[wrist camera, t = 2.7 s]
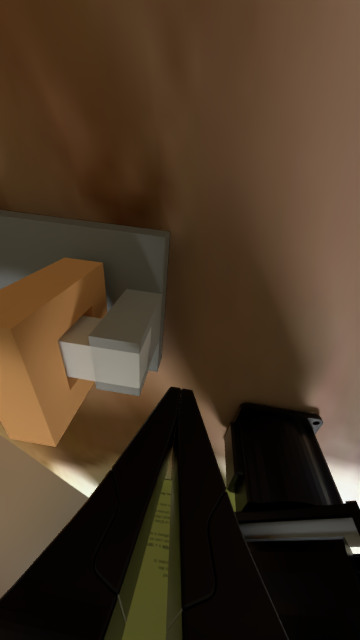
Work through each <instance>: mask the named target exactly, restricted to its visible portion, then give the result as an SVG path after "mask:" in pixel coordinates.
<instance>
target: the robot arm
mask: <svg viewBox="0 0 360 640" xmlns="http://www.w3.org/2000/svg"><path fill="white" fill-rule="evenodd" d="M179 401H180V402H179ZM178 408H179V409H178ZM177 415H178V416H177ZM322 424H323V421H322V419H321V417H320V416H319V415H315V414H309V413H303V412H296V411H290V410H284V409H278V408H272V407H266V406H260V405H254V404H248V403H244V404H241V405H240V407H239V409H238V412H237V415H236V417H235V420H234V422H231V423H230V425H229V428H228V431H227V433H226V436H225V439H224V440H225V460H226V480H227V489H228V491H229V492H231V493H235V507H236V512H234V510H233V507H232V504H231V501H230V498H229V495H228V493H227V492H225V491H226V487H225V484H224V481H223V478H222V475H221V472H220V469H219V467H218V464H217V461H216V458H215V455H214V452H213V449H212V446H211V443H210V440H209V437H208V434H207V431H206V428H205V425H204V423H203V420H202V417H201V414H200V411H199V408H198V405H197V402H196V399H195V396H194V393H193V391H192V390H189V389H182V390H181V389H180V388H177V387H170V388H169V389H168V391H167V392H166V394H165V395H164V396H163V398H162V399H161V400H160V402H159V403H158V405H157V406H156V407H155V409H154V410H153V412H152V413H151V414H150V416H149V417H148V418H147V420H146V421H145V423H144V424H143V425H142V427H141V428H140V429H139V431H138V432H137V434H136V435H135V436H134V438H133V439H132V441H131V442H130V443H129V445H128V446H127V447H126V449H125V450H124V452H123V453H122V454H121V456H120V457H119V458H118V460H117V461H116V463H115V464H114V465H113V467H112V470H110V471H109V472H108V473H107V475H106V476H105V478H104V479H103V480H102V482H101V483H100V484H99V486H98V487H97V488H96V490H95V491H94V492H93V493H92V495H91V496H90V497H89V499H88V500H87V501H86V502H85V504H84V505H83V506H82V507H81V508H80V510H79V511H78V512H77V513H76V515H75V516H74V517H73V518H72V519H71V520H70V522H69V523H68V524H67V525H66V526H65V527H64V528H63V529H62V531H61V532H60V533H59V534H58V535H57V536H56V538H55V539H54V540H53V541H52V542H51V543H50V544H49V545H48V547H47V548H46V549H45V550H44V551H43V552H42V553H41V554H40V556H39V557H38V558H37V559H36V560H35V561H34V562H33V564H32V565H31V566H30V567H29V568H28V569H27V570H26V571H25V573H24V574H23V575H22V576H21V577H20V578H19V579H18V580H17V581H16V583H15V584H14V585H13V586H12V587H11V588H10V589H9V590H8V591H7V592H6V593H5V594H4V595H3V597H1V598H0V640H122V637H123V633H124V629H125V625H126V623H125V622H126V621H127V618H128V614H129V610H130V606H131V603H132V599H133V595H134V591H135V588H136V584H137V580H138V576H139V573H140V569H141V565H142V561H143V558H144V554H145V550H146V546H147V543H148V539H149V535H150V531H151V528H152V524H153V520H154V516H155V513H156V509H157V505H158V501H159V497H160V494H161V490H162V486H163V482H164V479H165V475H166V471H167V467H168V464H169V460H170V456H171V452H172V447H173V452H172V477H171V505H170V532H169V560H168V588H167V615H166V631H167V632H166V640H360V554H353V553H352V551H351V549H350V547H360V509H359V506H358V504H357V502H356V501H345V502H346V504H343V501H342V499H341V497H340V494H339V492H338V489H337V487H336V484H335V482H334V480H333V477H332V475H331V472H330V470H329V467H328V465H327V463H326V460H325V458H324V455H323V453H322V451H321V448H320V446H319V443H318V441H317V438H316V436H315V434H316V432H317V431H318V430H319V428H320V427H321V426H322ZM175 428H176V429H175ZM174 435H175V436H174ZM173 441H174V443H173Z"/></svg>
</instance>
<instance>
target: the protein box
mask: <svg viewBox="0 0 360 640" xmlns="http://www.w3.org/2000/svg"><path fill="white" fill-rule="evenodd" d="M225 492H227V493H228V495H229V498H230V501H231V504H232V507H233V510H234V512H236V507H235V493H231V492H229V491H228V489H227V488H226V491H225ZM170 505H171V480H165V479H164V482H163V486H162V490H161V494H160V497H159V501H158V505H157V509H156V513H155V516H154V520H153V524H152V528H151V531H150V535H149V539H148V543H147V546H146V550H145V554H144V558H143V561H142V565H141V569H140V573H139V576H138V580H137V584H136V588H135V591H134V595H133V599H132V603H131V606H130V610H129V614H128V618H127V621H126V622H125V623H126V625H125V629H124V633H123V637H122V640H166V632H167V631H166V615H167V588H168V560H169V532H170Z"/></svg>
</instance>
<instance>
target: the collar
mask: <svg viewBox="0 0 360 640" xmlns="http://www.w3.org/2000/svg"><path fill="white" fill-rule="evenodd" d="M106 314H107V301H106V290H105V279H104V268H103V263H101V262H94V261H87V260H80V259H72V258H63V259H61V260H59V261H57V262H55V263H53V264H51V265H49V266H47V267H45V268H43V269H41V270H39V271H36V272H34V273H32V274H30V275H28V276H26V277H24V278H22V279H20V280H18V281H16V282H14V283H12V284H10V285H8V286H6V287H4V288H2V289H0V421H1V423H2V425H3V426H4V428H5V430H6V432H7V434H8V435H9V437H10V439H15V440H21V441H26V442H32V443H37V444H43V445H48V446H53V447H56V446H57V444H58V442H59V441H60V439H61V437H62V436H63V434H64V432H65V431H66V429H67V427H68V426H69V424H70V422H71V421H72V419H73V417H74V415H75V414H76V412H77V410H78V409H79V407H80V405H81V404H82V402H83V400H84V399H85V397H86V395H87V394H88V392H89V390H90V389H91V387H92V385H93V383H94V382H95V381H91V380H85V379H79V378H73V377H67V376H66V372H65V368H64V364H63V360H62V356H61V352H60V348H59V344H58V339H59V338H60V337H61V336H62V335H63V334H64V333H65V332H66V331H67V330H68V329H69V328H70V327H71V326H72V325H73V324H74V323H75V322H76V321H77V320H78V319H79V318H80V317H81V316H88V317H94V318H101V319H102V318H103V317H104V316H105V315H106Z"/></svg>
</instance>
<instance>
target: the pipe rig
mask: <svg viewBox="0 0 360 640" xmlns="http://www.w3.org/2000/svg"><path fill="white" fill-rule="evenodd" d="M169 244H170V231H162V230H154V229H147V228H139V227H131V226H123V225H115V224H107V223H100V222H92V221H84V220H76V219H68V218H60V217H52V216H45V215H37V214H29V213H21V212H13V211H5V210H0V289H2V288H4V287H6V286H8V285H10V284H12V283H14V282H16V281H18V280H20V279H22V278H24V277H26V276H28V275H30V274H32V273H34V272H36V271H39V270H41V269H43V268H45V267H47V266H49V265H51V264H53V263H55V262H57V261H59V260H61V259H63V258H72V259H80V260H87V261H94V262H101V263H103V268H104V279H105V290H106V301H107V314H106V315H105V316H104V317H103V318H102V319H101V318H94V317H88V316H81V317H80V318H79V319H78V320H77V321H76V322H75V323H74V324H73V325H72V326H71V327H70V328H69V329H68V330H67V331H66V332H65V333H64V334H63V335H62V336H61V337H60V338H59V339H58V344H59V348H60V352H61V356H62V360H63V364H64V368H65V372H66V376H67V377H73V378H79V379H85V380H91V381H95V383H96V389H100V390H106V391H112V392H118V393H124V394H130V395H136V396H140V393H141V390H142V387H143V384H144V381H145V378H146V376H147V373H148V370H149V371H155V372H158V368H159V365H160V361H161V358H162V345H163V330H164V316H165V301H166V287H167V273H168V258H169Z"/></svg>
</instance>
